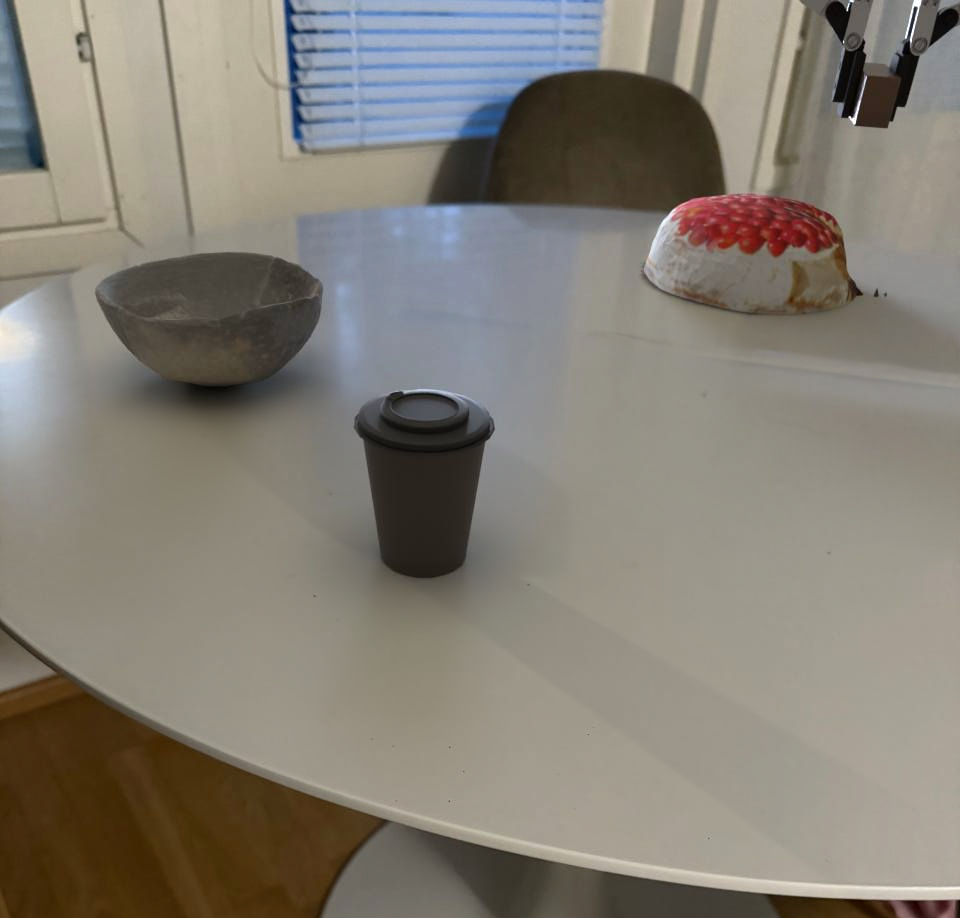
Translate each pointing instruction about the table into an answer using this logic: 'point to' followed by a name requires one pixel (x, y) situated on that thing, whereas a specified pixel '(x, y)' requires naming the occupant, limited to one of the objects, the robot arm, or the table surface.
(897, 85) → the knife
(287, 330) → the bowl
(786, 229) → the cake
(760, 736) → the table surface
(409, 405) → the coffee cup
